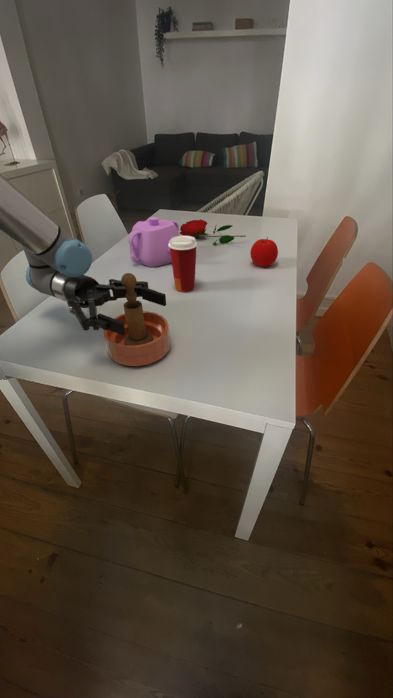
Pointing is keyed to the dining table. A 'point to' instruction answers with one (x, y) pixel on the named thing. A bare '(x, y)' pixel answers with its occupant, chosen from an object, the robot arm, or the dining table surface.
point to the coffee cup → (183, 262)
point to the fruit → (264, 252)
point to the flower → (198, 228)
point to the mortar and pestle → (134, 314)
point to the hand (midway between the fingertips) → (145, 313)
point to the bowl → (144, 351)
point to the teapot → (152, 241)
